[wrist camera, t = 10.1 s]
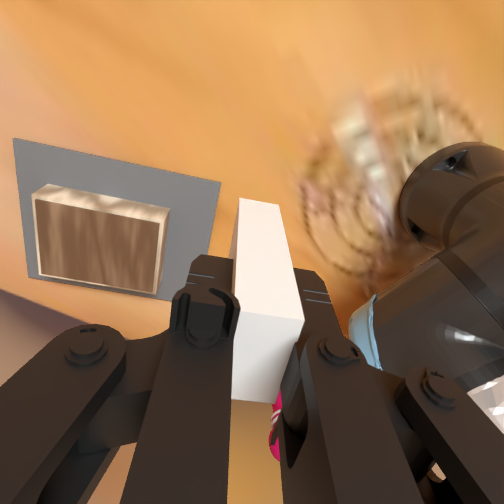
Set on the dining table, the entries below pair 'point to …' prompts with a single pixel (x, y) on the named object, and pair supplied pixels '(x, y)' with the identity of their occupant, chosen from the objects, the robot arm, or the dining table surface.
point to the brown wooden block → (99, 238)
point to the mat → (125, 187)
